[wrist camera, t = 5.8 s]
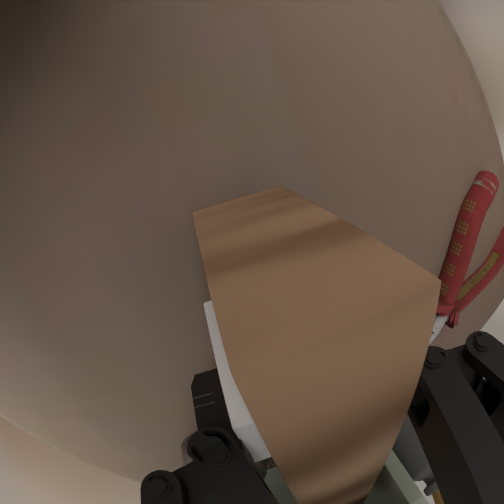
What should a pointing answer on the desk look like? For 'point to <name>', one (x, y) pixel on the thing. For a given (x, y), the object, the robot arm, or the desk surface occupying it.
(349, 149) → the desk surface
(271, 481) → the green bedside cabinet
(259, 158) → the desk surface
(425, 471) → the bottle
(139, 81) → the desk surface
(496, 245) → the pliers
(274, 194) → the brown wooden block
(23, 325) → the desk surface
